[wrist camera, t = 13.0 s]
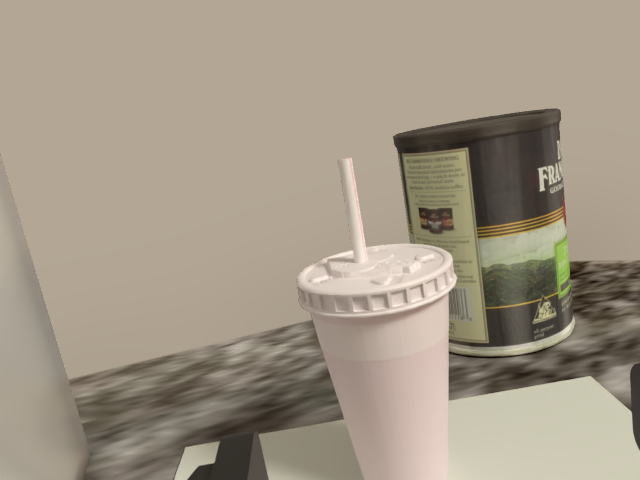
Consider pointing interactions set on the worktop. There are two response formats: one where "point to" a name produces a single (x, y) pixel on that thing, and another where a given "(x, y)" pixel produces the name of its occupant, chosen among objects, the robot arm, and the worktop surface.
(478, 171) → the coffee can
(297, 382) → the worktop surface
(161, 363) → the worktop surface
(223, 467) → the robot arm
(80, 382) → the worktop surface
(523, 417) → the t mat
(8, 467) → the white canister
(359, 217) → the smoothie
